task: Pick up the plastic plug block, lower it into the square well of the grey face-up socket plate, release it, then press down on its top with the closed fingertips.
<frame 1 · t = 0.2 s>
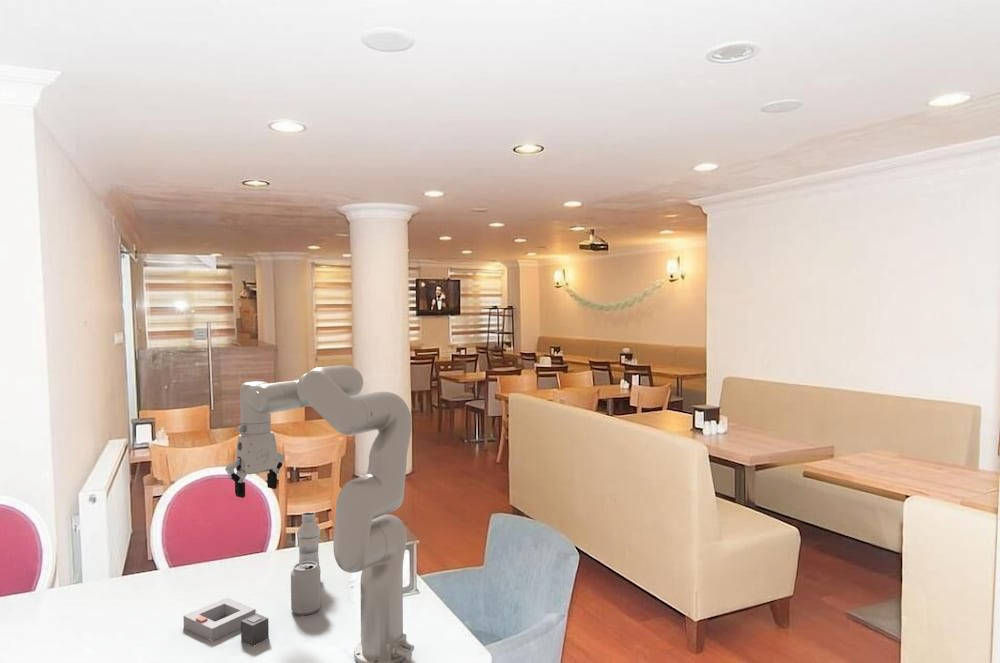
hand: (256, 492, 170), 31 cm above the table, fingers open, 9 cm apart
can: (306, 610, 168), on the table
plug: (255, 640, 153), on the table
socket plate: (220, 624, 161), on the table
plastic bottle: (309, 583, 185), on the table
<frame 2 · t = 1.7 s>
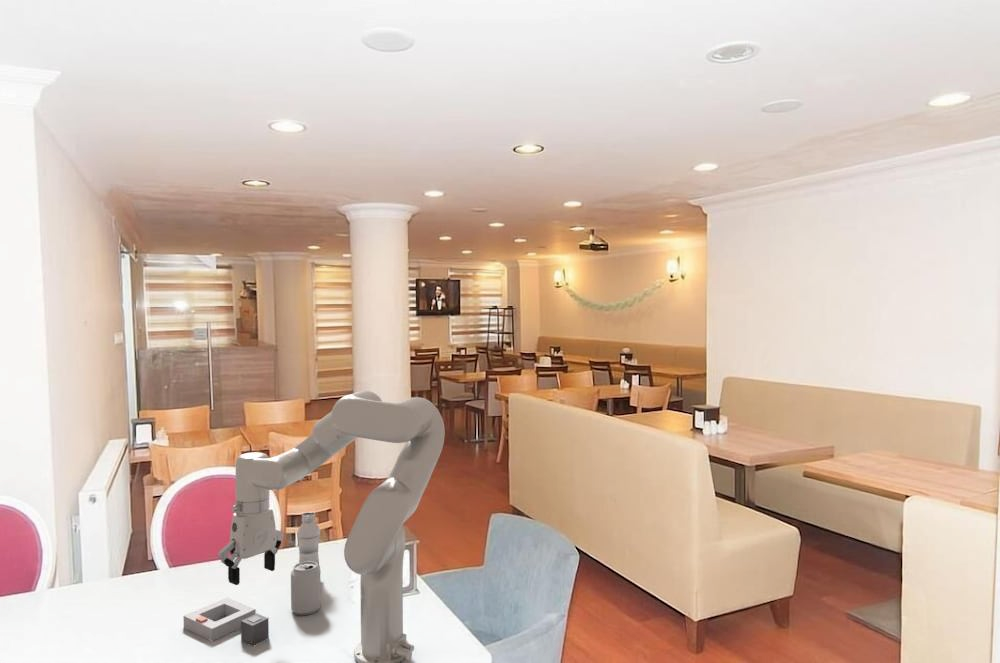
hand: (252, 576, 153), 15 cm above the table, fingers open, 9 cm apart
nothing on the table moved.
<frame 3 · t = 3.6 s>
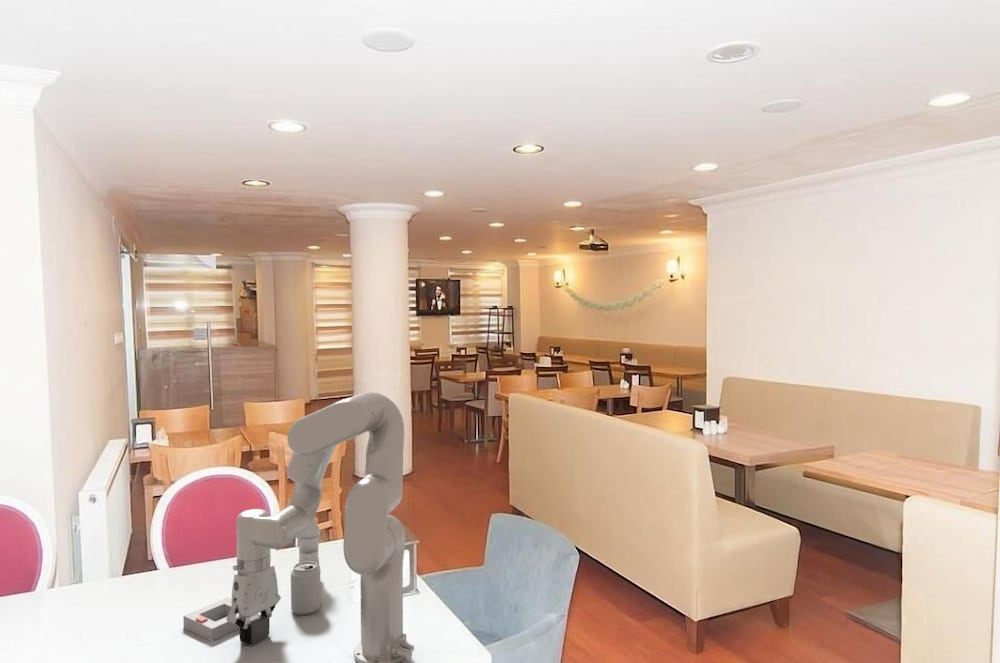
hand: (254, 637, 153), 1 cm above the table, fingers closed on plug, 4 cm apart
plug: (254, 639, 153), on the table, touching gripper
everything else where it was.
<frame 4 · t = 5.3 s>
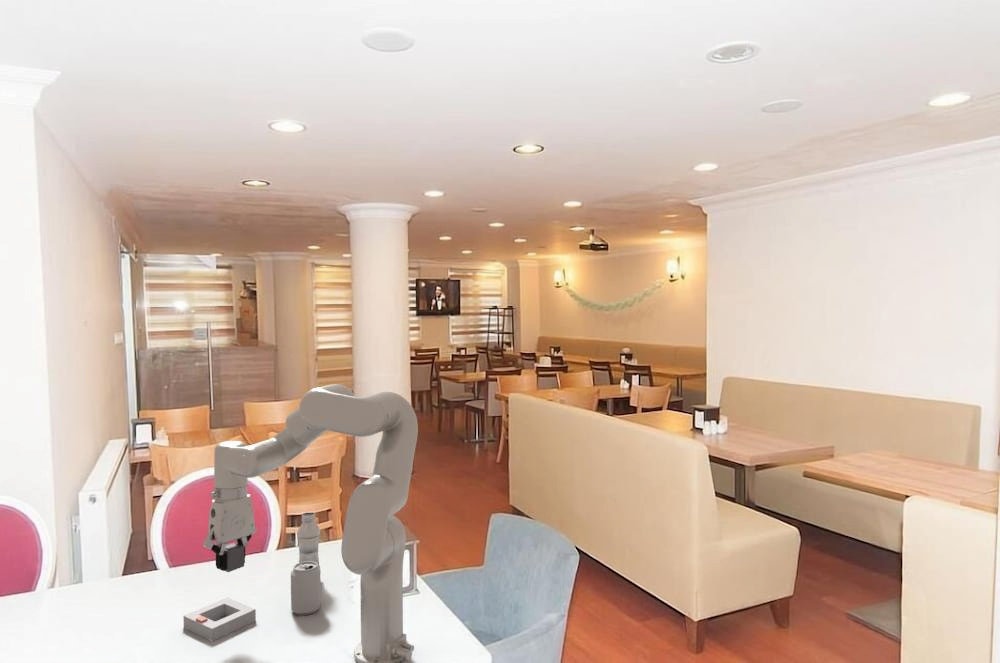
hand: (230, 564, 157), 16 cm above the table, fingers closed on plug, 4 cm apart
plug: (230, 567, 157), point 16 cm above the table, touching gripper
everything else where it was.
when the fingers open (3 cm above the table, at t = 7.5 s): plug drops 3 cm, resting in socket plate.
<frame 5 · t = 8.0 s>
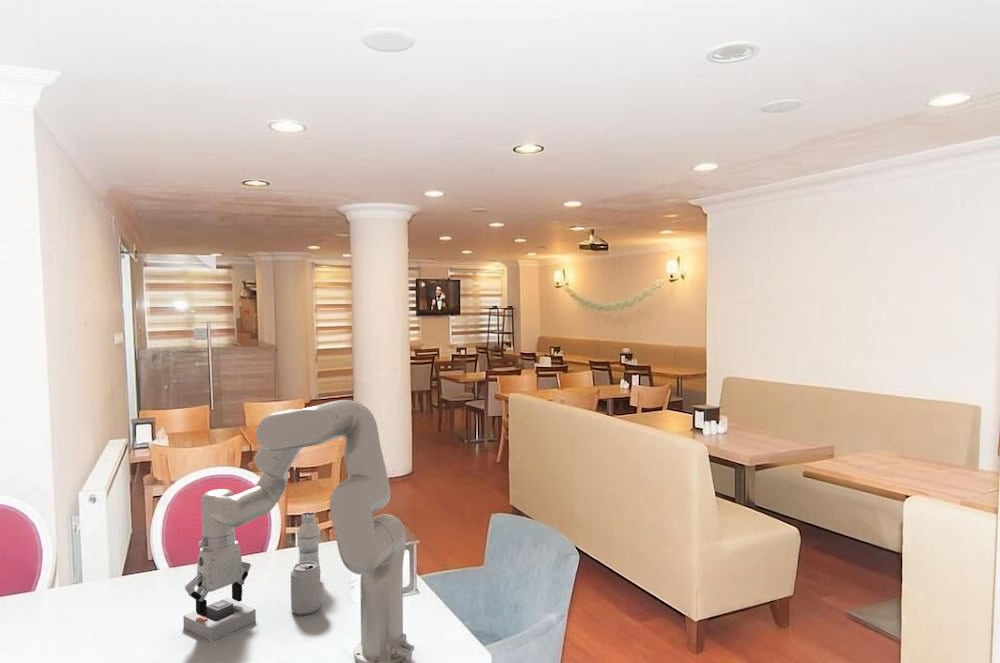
hand: (219, 607, 160), 4 cm above the table, fingers open, 9 cm apart
plug: (220, 624, 161), resting in socket plate
everything else where it was.
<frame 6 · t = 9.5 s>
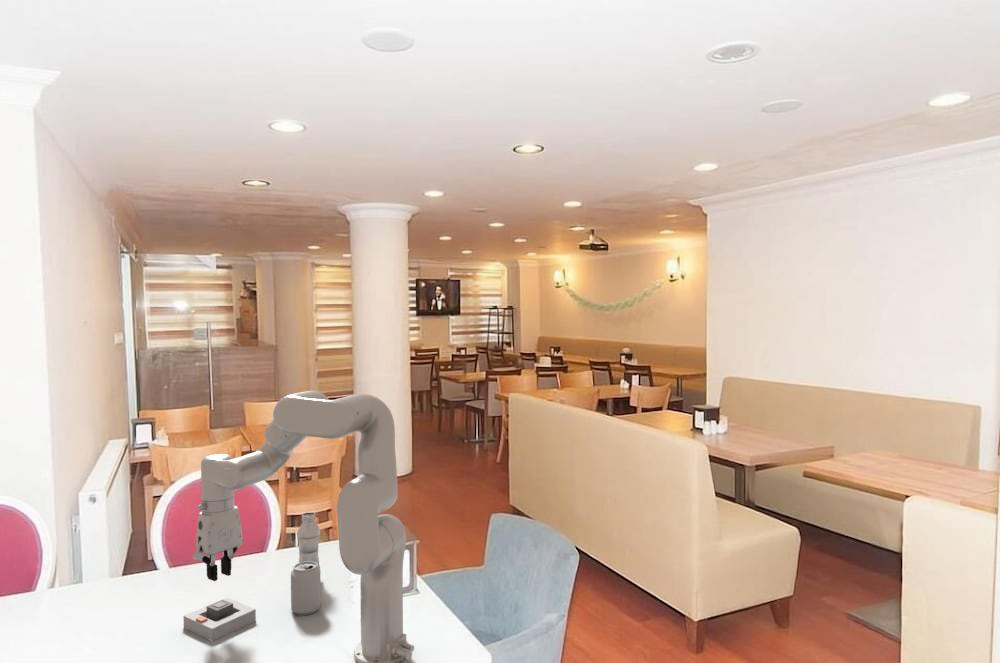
hand: (219, 576, 160), 12 cm above the table, fingers open, 3 cm apart
nothing on the table moved.
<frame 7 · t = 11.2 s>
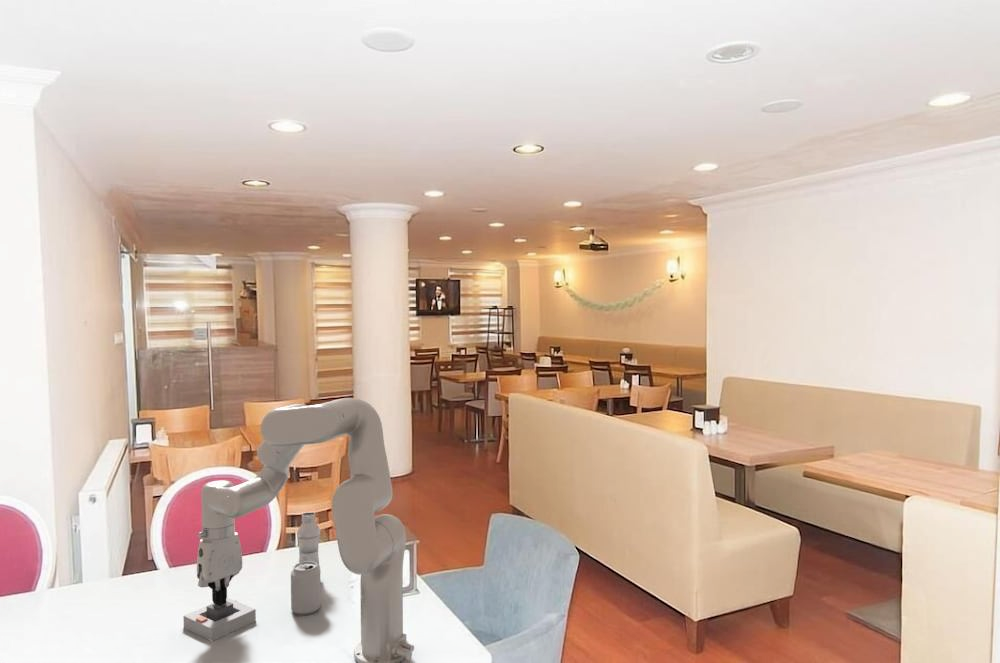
hand: (219, 603, 160), 5 cm above the table, fingers closed
nothing on the table moved.
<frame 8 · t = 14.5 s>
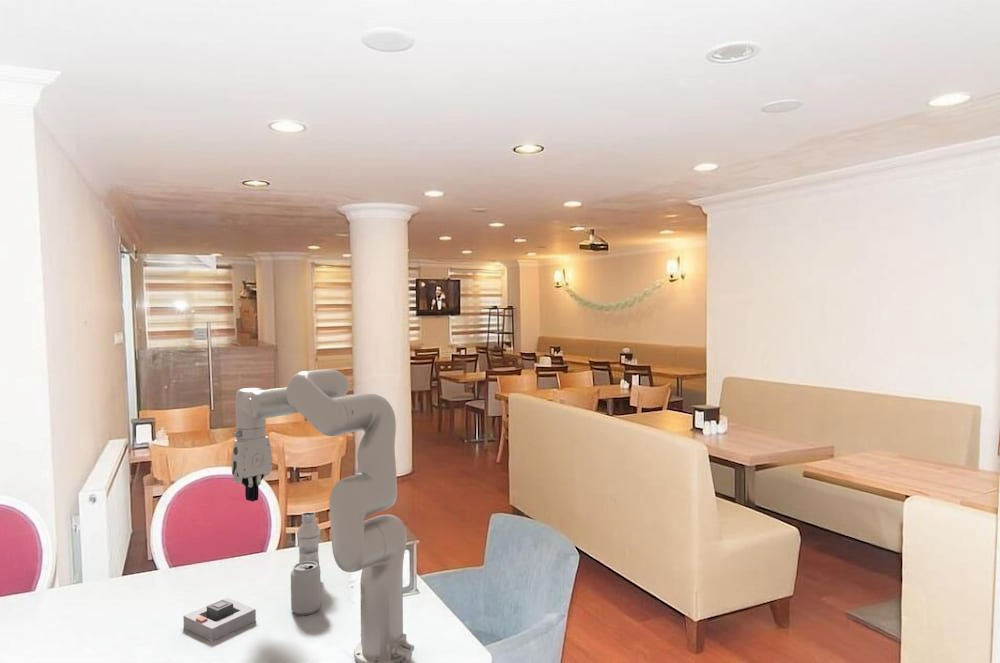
hand: (252, 499, 175), 27 cm above the table, fingers closed
nothing on the table moved.
at the end: plug 0.1 cm off-centre on the socket plate, point 0.0 cm above the socket plate's base; plug tilted 0°; the gripper is holding nothing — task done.
